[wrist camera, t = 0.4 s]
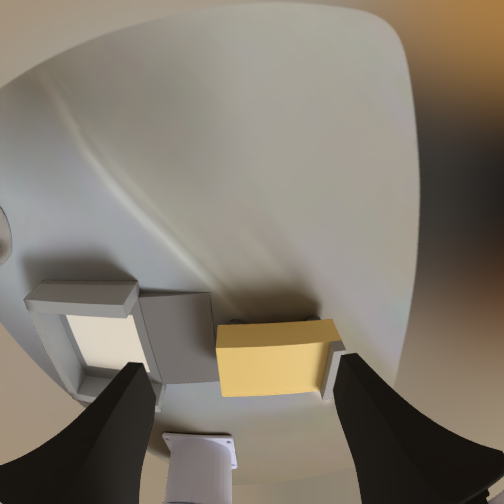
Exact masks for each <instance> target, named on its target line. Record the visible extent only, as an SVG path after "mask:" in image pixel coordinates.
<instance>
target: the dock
mask: <svg viewBox="0 0 504 504" xmlns="http://www.w3.org/2000/svg"><path fill="white" fill-rule="evenodd" d="M23 300H24V303H25V305H26V308H27V310H28V313H29V315H30V317H31V320H32V322H33V324H34V327H35V329H36V331H37V333H38V335H39V338H40V340H41V342H42V344H43V346H44V348H45V350H46V352H47V354H48V356H49V358H50V360H51V362H52V363H53V365H54V367H55V369H56V371H57V373H58V374H59V376H60V378H61V380H62V381H63V383H64V385H65V386H66V388H67V390H68V391H69V393H70V395H71V396H72V398H73V399H77V400H81V401H86V402H91V403H92V402H93V401H94V400H95V399H96V398H97V397H98V396H99V394H100V393H101V392H102V391H103V390H104V389H105V388H106V387H107V385H108V384H109V383H110V382H111V381H112V380H113V379H114V377H115V376H116V375H117V374H118V373H119V372H120V371H121V369H122V368H123V367H124V366H125V365H126V364H127V363H128V362H139V363H143V364H144V367H145V369H146V372H147V375H148V377H149V380H150V382H151V385H152V387H153V390H154V392H155V395H156V405H155V412H161V408H162V403H163V399H164V394H165V390H166V384H181V383H199V382H212V381H220V377H219V369H218V362H217V354H216V346H215V338H214V330H213V321H212V312H211V303H210V294H209V292H208V293H140V289H139V285H138V281H58V280H43V281H42V282H41V283H40V284H39V285H38V286H37V287H36V288H35V289H34V290H33V291H31V292H30V293H29V294H28V295H27V296H26V297H25V298H24V299H23Z"/></svg>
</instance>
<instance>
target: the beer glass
mask: <svg viewBox="0 0 504 504" xmlns="http://www.w3.org/2000/svg"><path fill="white" fill-rule="evenodd" d="M11 248H12V239H11V232H10V227H9V224H8V221H7V219H6V216H5V214H4V213H3V211H2V209H1V208H0V266H1V265H3V264H4V263H6V262H7V260H8V259H9V257H10V254H11Z"/></svg>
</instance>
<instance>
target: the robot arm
mask: <svg viewBox="0 0 504 504" xmlns="http://www.w3.org/2000/svg"><path fill="white" fill-rule="evenodd" d="M333 395H334V400H335V405H336V409H337V413H338V416H339V419H340V422H341V425H342V428H343V431H344V434H345V437H346V439H347V442H348V445H349V448H350V451H351V454H352V457H353V460H354V464H355V467H356V472H357V477H358V482H359V488H360V494H361V501H362V504H504V490H503V491H502V492H500V493H499V494H498V495H496V496H495V497H494V498H492V499H491V500H489V501H487V499H486V497H488V496H489V494H490V493H489V491H488V488H489V487H490V486H492V485H493V484H494V483H496V482H497V481H498V480H500V479H501V478H502V477H503V476H504V453H503V452H502V451H500V450H496V449H493V448H489V447H486V446H483V445H480V444H477V443H475V442H472V441H470V440H468V439H465V438H463V437H461V436H459V435H457V434H455V433H453V432H451V431H449V430H447V429H446V428H444V427H442V426H440V425H438V424H437V423H435V422H434V421H432V420H431V419H429V418H428V417H426V416H425V415H424V414H422V413H421V412H419V411H418V410H417V409H415V408H414V407H413V406H412V405H410V404H409V403H408V402H407V401H406V400H404V399H403V398H402V397H401V396H400V395H399V394H398V393H396V392H395V391H394V390H393V389H392V388H391V387H390V386H389V385H388V384H387V383H386V382H385V381H384V380H383V379H382V378H381V377H380V376H379V375H378V374H377V373H376V372H375V371H374V370H373V369H372V368H371V367H370V366H369V365H368V364H367V363H366V362H365V361H364V360H363V359H362V358H361V357H360V356H359V355H358V354H357V353H352V354H345V355H341V357H340V362H339V366H338V370H337V374H336V379H335V383H334V387H333ZM155 405H156V395H155V392H154V390H153V387H152V385H151V382H150V380H149V377H148V375H147V372H146V369H145V367H144V364H143V363H139V362H128V363H127V364H126V365H125V366H124V367H123V368H122V369H121V371H120V372H119V373H118V374H117V375H116V376H115V377H114V379H113V380H112V381H111V382H110V383H109V384H108V385H107V387H106V388H105V389H104V390H103V391H102V392H101V393H100V394H99V396H98V397H97V398H96V399H95V400H94V401H93V402H92V403H91V404H90V405H89V406H88V407H87V408H86V409H85V410H84V411H83V412H82V413H81V414H80V415H79V416H78V417H77V418H76V419H75V420H74V421H73V422H72V423H71V424H70V425H68V426H67V427H66V428H65V429H64V430H62V431H61V432H60V433H59V434H57V435H56V436H54V437H53V438H51V439H50V440H49V441H47V442H46V443H44V444H43V445H41V446H40V447H38V448H36V449H35V450H33V451H31V452H29V453H28V454H26V455H24V456H22V457H20V458H18V459H16V460H13V461H11V462H8V463H5V464H3V465H0V502H1V503H2V504H139V490H140V479H141V471H142V466H143V461H144V457H145V453H146V449H147V445H148V441H149V437H150V433H151V429H152V425H153V421H154V414H155ZM162 437H163V439H164V441H165V443H166V444H167V446H168V448H169V450H170V452H171V456H170V462H169V469H168V477H167V484H166V492H165V500H164V502H162V504H232V469H236V468H237V461H236V454H235V448H234V441H233V437H232V436H217V435H189V434H175V433H163V434H162Z"/></svg>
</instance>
